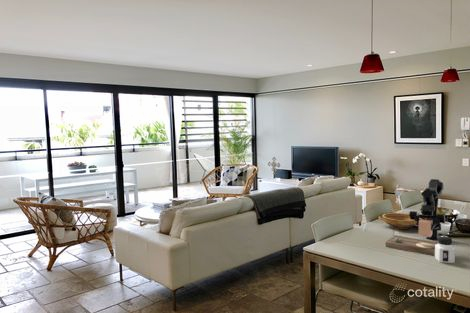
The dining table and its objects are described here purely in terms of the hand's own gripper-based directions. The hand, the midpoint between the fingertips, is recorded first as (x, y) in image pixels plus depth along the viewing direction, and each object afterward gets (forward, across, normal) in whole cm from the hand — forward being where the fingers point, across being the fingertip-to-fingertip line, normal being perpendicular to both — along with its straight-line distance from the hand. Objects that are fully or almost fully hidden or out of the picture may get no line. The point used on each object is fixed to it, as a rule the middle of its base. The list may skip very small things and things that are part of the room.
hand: (425, 229), depth 215 cm
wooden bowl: (-25, -24, +44) cm, 56 cm away
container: (+17, +11, +2) cm, 21 cm away
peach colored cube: (+2, 0, +4) cm, 4 cm away
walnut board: (+6, -7, +13) cm, 16 cm away
